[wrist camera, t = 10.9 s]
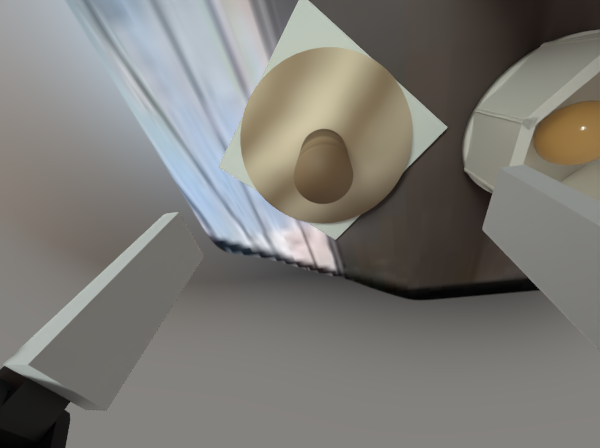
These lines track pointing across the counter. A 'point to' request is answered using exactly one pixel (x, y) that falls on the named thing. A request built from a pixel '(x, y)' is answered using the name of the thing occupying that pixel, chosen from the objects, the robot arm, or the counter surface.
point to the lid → (326, 135)
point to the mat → (315, 34)
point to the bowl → (541, 117)
